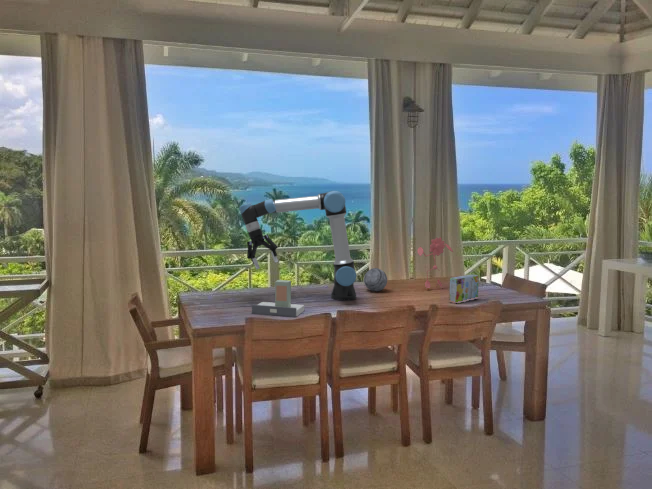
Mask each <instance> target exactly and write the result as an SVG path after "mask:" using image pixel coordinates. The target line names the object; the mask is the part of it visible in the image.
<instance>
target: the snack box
mask: <svg viewBox="0 0 652 489" xmlns="http://www.w3.org/2000/svg"><path fill="white" fill-rule="evenodd" d="M479 277H480V276H479V275H478V274H468V275H467V274H466V275H461V276H456V277H455V276H454V277H450V278H449V299H448V300H451V301H454V302H458V301H463V300H467V299H471V298H475V297H478V298H479V279H480V278H479Z"/></svg>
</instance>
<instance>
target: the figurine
mask: <svg viewBox="0 0 652 489" xmlns="http://www.w3.org/2000/svg"><path fill="white" fill-rule="evenodd" d="M445 247H446V248H447V249H448V250H449V251H450V252H452V253H454V251H453V249H452V247H451V246H450V245H449V244H447V243H445V240H443V239H442V237H441V236H439V237H435V238H434V239H433V238H432V239H431V244H430V245H429V252H430V253H429V254H426V253H425V252H424V249H423V247H421V246H419V247H418V248H417V250H416V251H417V255H418V256H420V257H422V256H423V255H424V257H429V256H432V255H433V259H434V260H433V261H434V265H433V266H432V268H431V269H428V270H427V271H426V273H428V272H430V271H432V270H439V269H438V266H437V264H436V263H437V262H436V257H435V256H440V255H441V254H443V253H444V249H445ZM428 277H429V276H428V274H426V281H425V283H424V286H425V287H426V289H427V288H430V289H431V282H430V281H429V279H428ZM438 285H439V287H440V288H441V286H443V284H442V282H441V280H440V279H437V283H436V286H438ZM425 287H424V288H425Z"/></svg>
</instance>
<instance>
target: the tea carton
mask: <svg viewBox="0 0 652 489" xmlns="http://www.w3.org/2000/svg"><path fill="white" fill-rule="evenodd" d="M274 294H275V295H274V303H275V306H277V307H291V304H292V297H291V296H292V281H291V280H288V279H287V280H285V279H284V280H283V279H277V280H276V281H274Z"/></svg>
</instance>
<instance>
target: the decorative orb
mask: <svg viewBox="0 0 652 489" xmlns="http://www.w3.org/2000/svg"><path fill="white" fill-rule="evenodd" d="M363 283H364V286H365V287H366V288H367V289H368V290H369V291H370V292H371V291H372V292H375V291H376V292H381V291H382V290H384V289H385V288H386V286H387V283H388V276H387V274H386V272H385V271H384V270H382V269H380V268H377V267H374V268H373V267H372V268H370V269H369V270H367V271H366V273H365V274H364V276H363Z"/></svg>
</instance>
